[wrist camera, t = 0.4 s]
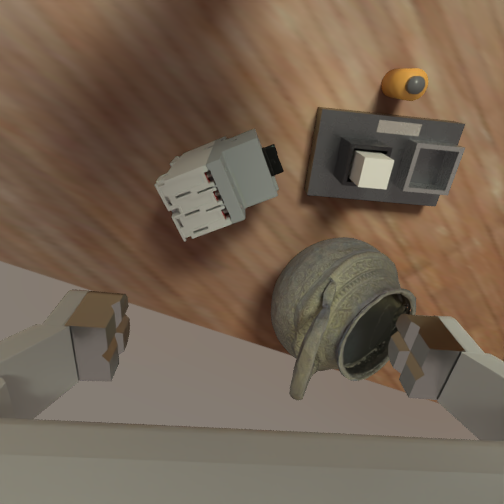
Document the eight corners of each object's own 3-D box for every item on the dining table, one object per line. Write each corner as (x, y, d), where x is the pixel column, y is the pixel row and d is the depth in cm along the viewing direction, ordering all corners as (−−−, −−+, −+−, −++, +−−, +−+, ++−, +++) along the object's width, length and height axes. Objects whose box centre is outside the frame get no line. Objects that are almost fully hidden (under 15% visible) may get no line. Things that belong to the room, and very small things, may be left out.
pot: (243, 285, 63) (243, 403, 41) (315, 194, 55) (364, 276, 33) (330, 334, 69) (373, 460, 46) (406, 257, 61) (500, 364, 39)
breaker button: (353, 149, 46) (365, 157, 41) (379, 151, 46) (394, 160, 42) (347, 176, 48) (358, 186, 43) (372, 178, 48) (386, 189, 43)
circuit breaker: (281, 168, 53) (294, 201, 40) (196, 201, 55) (182, 242, 42) (265, 120, 50) (273, 137, 37) (175, 156, 52) (152, 186, 39)
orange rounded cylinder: (385, 67, 47) (407, 66, 41) (411, 70, 48) (436, 70, 41) (378, 96, 49) (398, 99, 43) (403, 98, 49) (426, 102, 43)
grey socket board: (318, 106, 49) (330, 112, 42) (453, 121, 51) (487, 129, 44) (304, 188, 55) (313, 206, 48) (426, 199, 56) (453, 218, 49)
